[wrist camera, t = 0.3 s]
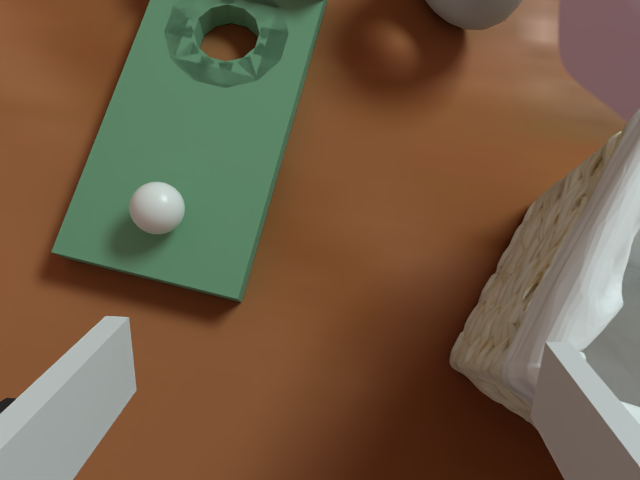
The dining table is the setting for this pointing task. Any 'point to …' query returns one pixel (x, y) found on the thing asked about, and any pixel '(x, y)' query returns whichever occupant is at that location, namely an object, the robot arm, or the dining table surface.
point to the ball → (157, 208)
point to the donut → (474, 12)
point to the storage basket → (566, 284)
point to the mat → (194, 143)
